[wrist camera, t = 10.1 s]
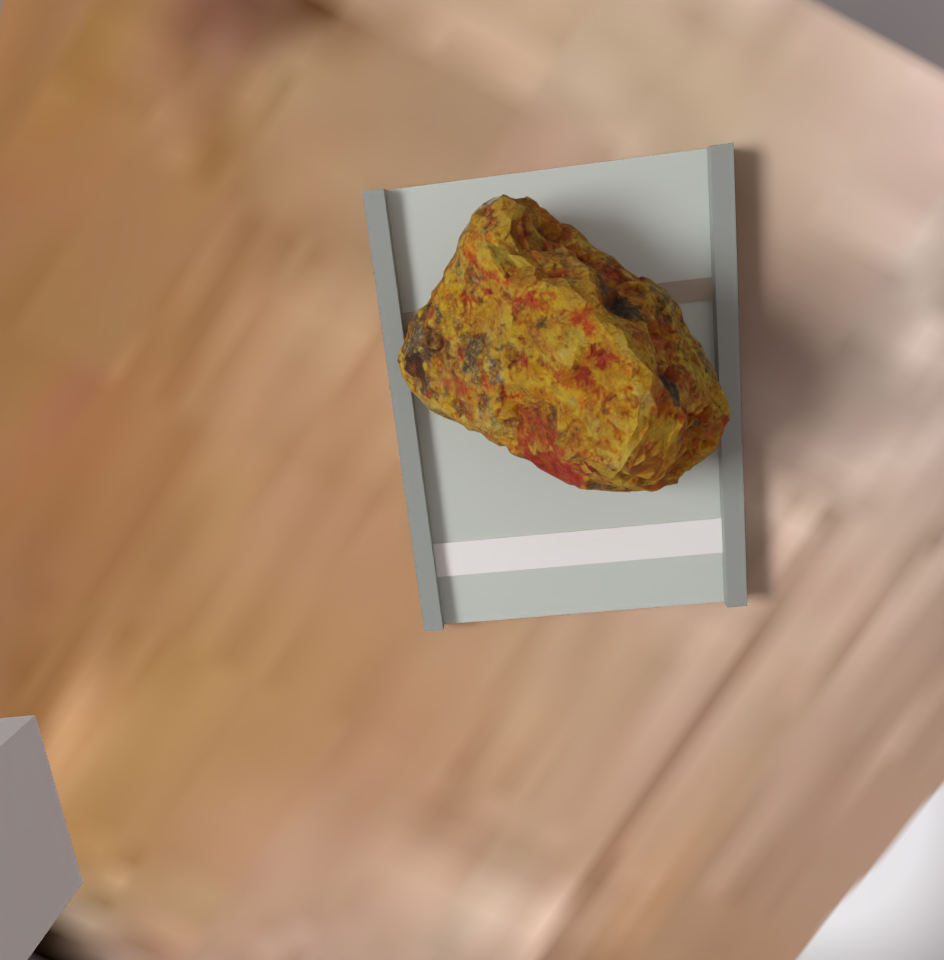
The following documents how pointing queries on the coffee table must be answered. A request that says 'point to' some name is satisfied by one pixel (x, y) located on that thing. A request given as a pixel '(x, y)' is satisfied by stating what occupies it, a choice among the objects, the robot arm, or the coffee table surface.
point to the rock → (563, 356)
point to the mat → (518, 482)
